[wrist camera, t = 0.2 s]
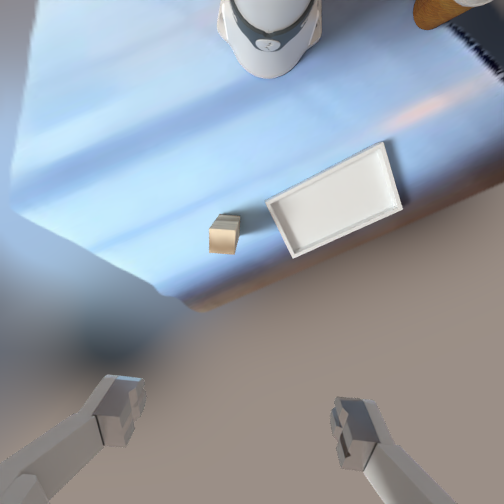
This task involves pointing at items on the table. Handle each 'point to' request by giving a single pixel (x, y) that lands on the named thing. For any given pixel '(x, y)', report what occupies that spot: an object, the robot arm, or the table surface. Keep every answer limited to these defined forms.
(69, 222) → the table surface
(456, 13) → the disposable coffee cup
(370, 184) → the tray
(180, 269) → the table surface
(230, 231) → the ash block
